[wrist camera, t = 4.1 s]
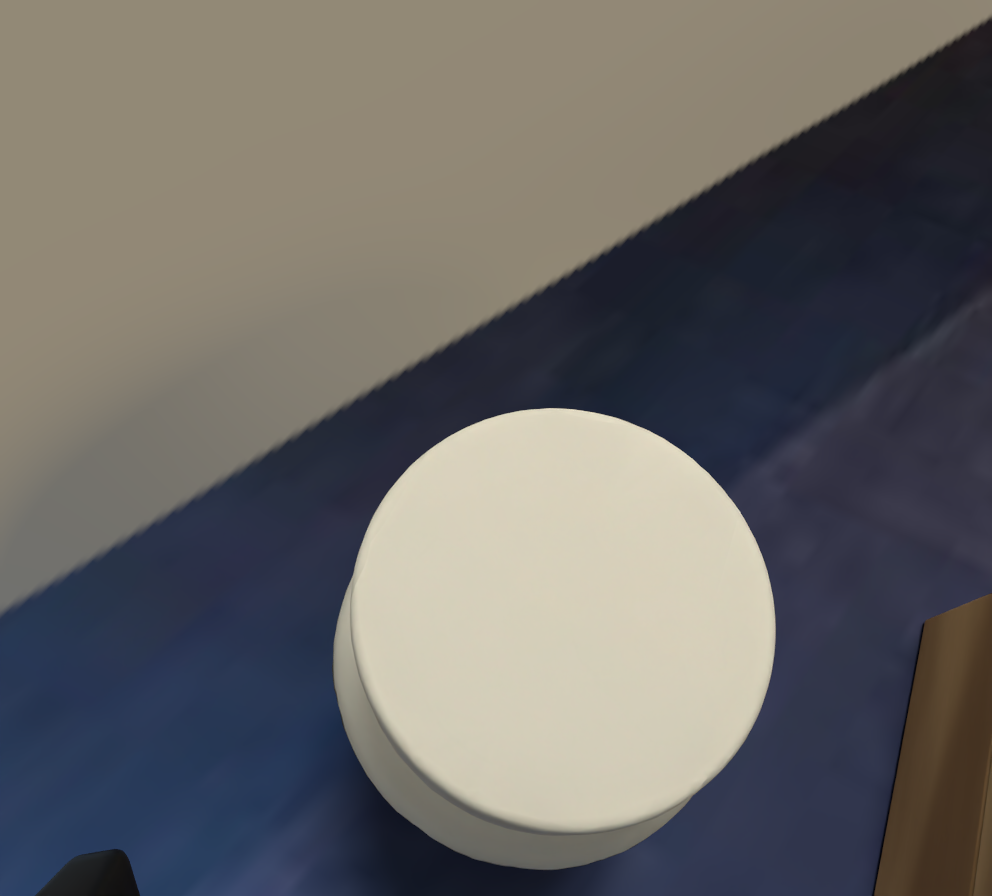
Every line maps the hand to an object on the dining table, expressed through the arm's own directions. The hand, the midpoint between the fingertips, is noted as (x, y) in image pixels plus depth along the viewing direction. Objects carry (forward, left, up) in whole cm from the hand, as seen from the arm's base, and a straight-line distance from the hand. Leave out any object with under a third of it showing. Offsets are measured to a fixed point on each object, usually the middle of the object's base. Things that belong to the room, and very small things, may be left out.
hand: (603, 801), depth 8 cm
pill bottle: (+1, -2, -10) cm, 10 cm away
